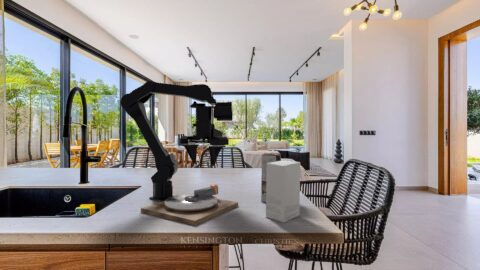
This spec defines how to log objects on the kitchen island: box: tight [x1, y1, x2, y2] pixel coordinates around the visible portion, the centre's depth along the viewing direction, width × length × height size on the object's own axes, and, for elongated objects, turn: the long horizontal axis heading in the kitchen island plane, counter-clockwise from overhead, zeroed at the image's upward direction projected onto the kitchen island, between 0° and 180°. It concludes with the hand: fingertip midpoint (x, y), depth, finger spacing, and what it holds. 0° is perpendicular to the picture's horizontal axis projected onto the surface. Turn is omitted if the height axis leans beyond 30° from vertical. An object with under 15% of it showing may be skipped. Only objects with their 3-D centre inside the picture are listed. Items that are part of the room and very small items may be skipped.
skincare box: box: [265, 159, 301, 223], centre depth 76 cm, size 8×7×16 cm
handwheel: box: [165, 183, 219, 212], centre depth 85 cm, size 19×16×4 cm
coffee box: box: [260, 152, 282, 203], centre depth 96 cm, size 9×6×16 cm
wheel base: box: [140, 198, 239, 226], centre depth 83 cm, size 21×21×1 cm
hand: (203, 164), depth 96 cm, fingers open, 9 cm apart
